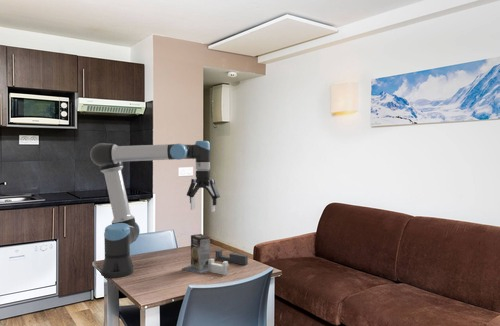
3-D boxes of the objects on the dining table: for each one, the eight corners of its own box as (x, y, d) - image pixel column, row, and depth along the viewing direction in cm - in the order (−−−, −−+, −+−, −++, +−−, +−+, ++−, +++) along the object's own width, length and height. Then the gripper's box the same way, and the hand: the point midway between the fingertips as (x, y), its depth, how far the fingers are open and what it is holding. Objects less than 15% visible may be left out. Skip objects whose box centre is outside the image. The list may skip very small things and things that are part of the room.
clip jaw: (208, 271, 186) (208, 259, 186) (211, 270, 188) (211, 258, 188) (225, 275, 181) (225, 262, 181) (228, 273, 183) (228, 261, 183)
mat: (181, 269, 189) (181, 268, 189) (198, 263, 200) (198, 262, 200) (202, 274, 182) (202, 272, 182) (217, 267, 193) (217, 265, 193)
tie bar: (215, 259, 206) (215, 250, 206) (218, 258, 209) (218, 249, 208) (245, 265, 196) (245, 255, 196) (247, 263, 198) (247, 254, 198)
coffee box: (190, 266, 193) (190, 235, 192) (201, 264, 197) (201, 233, 196) (199, 270, 186) (199, 238, 185) (210, 268, 190) (210, 236, 189)
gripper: (180, 169, 200) (180, 209, 201) (217, 171, 187) (217, 213, 188) (189, 169, 206) (189, 207, 207) (226, 170, 193) (226, 211, 194)
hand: (202, 210), depth 197 cm, fingers open, 13 cm apart
